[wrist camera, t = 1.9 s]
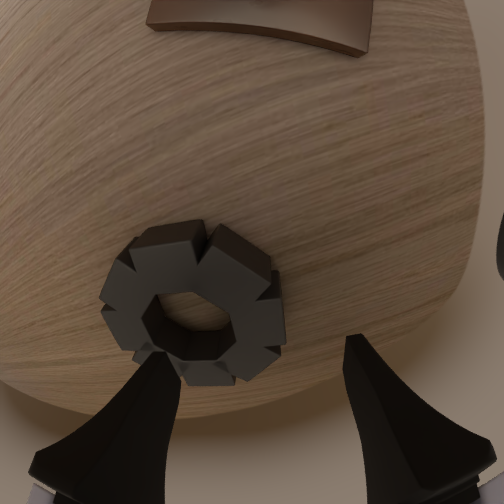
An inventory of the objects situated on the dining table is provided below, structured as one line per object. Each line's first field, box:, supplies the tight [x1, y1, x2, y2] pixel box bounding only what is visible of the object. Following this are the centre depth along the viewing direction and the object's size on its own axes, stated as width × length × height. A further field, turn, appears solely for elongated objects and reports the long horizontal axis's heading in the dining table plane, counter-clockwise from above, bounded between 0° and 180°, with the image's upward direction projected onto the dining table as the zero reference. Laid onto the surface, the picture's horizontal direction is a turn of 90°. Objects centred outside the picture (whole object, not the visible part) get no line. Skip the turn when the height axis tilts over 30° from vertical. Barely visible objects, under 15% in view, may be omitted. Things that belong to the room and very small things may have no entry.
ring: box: [99, 220, 287, 386], centre depth 14 cm, size 9×9×2 cm
